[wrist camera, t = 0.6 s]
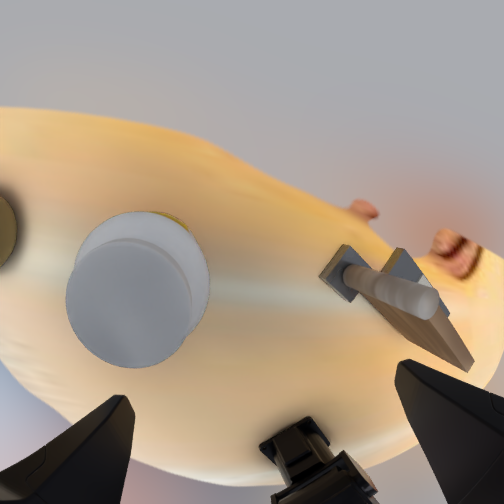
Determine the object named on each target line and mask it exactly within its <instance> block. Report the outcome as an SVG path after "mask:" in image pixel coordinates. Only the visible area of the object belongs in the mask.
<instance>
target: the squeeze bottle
mask: <svg viewBox="0 0 504 504" xmlns="http://www.w3.org/2000/svg"><path fill="white" fill-rule="evenodd" d="M16 232H17V224H16V220H15V216H14V212H13V210H12V209H11V207H10V205H9V204H8V202H7V201H6V200H5V199H3V198H2V197H1V196H0V267H1V266H2V265H3V263H4V262H5V261H6V260H7V258H8V257H9V256H10V254H11V253H12V251H13V248H14V245H15V242H16Z"/></svg>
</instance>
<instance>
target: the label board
mask: <svg viewBox="0 0 504 504" xmlns="http://www.w3.org/2000/svg"><path fill="white" fill-rule="evenodd" d="M351 264H356V265H360V266H363V267H366V268H370V269H372V268H371V267H370V266H369V265H368V264H367V263H366V262H365V261H364V260H363V259H362V258H361V257H360V256H359V254H358V253H357V252H356V251H355V250H354V249H353V248H352V247H351V246H349V245H344V244H343V245H342V246H341V248H340V249H339V250H338V252H337V253H336V255H335V256H334V257H333V259H332V260H331V261H330V263H329V264H328V265H327V267H326V268H325V269H324V271H323V272H322V273H321V275H320V276H319V277H320V278H321V279H322V280H323V281H324V282H325V283H326V284H328V285H329V286H330V287H331V288H332V289H333V290H334V291H335V292H336V293H338V294H339V295H340V296H341V297H342V298H343V299H344V300H346V301H348V302H350V303H351V302H352V301H353V299H354V298H355V297H356V295H357V294H358V292H359V291H357V290H355V289H353V288H350V287H348V286H346V285H345V283H344V281H343V273H344V271H345V269H346V268H347V267H348V266H349V265H351ZM381 272H383V273H386V274H389V275H393V276H396V277H399V278H403V279H406V280H409V281H412V282H416V283H419V284H422V285H425V286H428V287H432V285H431V284H430V283H429V281H428V280H427V278H426V277H425V276H424V274H423V273H422V271H421V270H420V269H419V267H418V266H417V265H416V263H415V262H414V261H413V259H412V258H411V257H410V255H409V254H408V253H407V251H406V250H405V249H402V248H396V249H395V251H394V253H393V254H392V256H391V257H390V259H389V260H388V262H387V263H386V265H385V266H384V268H383V269H382V271H381ZM432 288H433V287H432ZM439 306H440V307H441V309H442V310H443V312H444V313H445V315H446V316H447V318H448V316H449V314H450V312H449V311H448V309H447V307H446V306H445V304H444V303H443V301H442V300H441V298H440V297H439Z"/></svg>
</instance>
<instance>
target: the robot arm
mask: <svg viewBox="0 0 504 504" xmlns="http://www.w3.org/2000/svg"><path fill="white" fill-rule="evenodd" d="M395 387H396V390H397V392H398V395H399V397H400V400H401V403H402V405H403V408H404V411H405V414H406V416H407V419H408V421H409V423H410V425H411V427H412V429H413V431H414V433H415V435H416V437H417V439H418V441H419V443H420V445H421V447H422V449H423V451H424V453H425V455H426V457H427V459H428V461H429V464H430V466H431V468H432V470H433V472H434V474H435V476H436V478H437V481H438V483H439V485H440V487H441V489H442V492H443V494H444V496H445V498H446V501H447V503H448V504H504V398H503V397H501V396H498V395H496V394H493V393H489V392H488V391H485V390H483V389H480V388H478V387H475V386H473V385H471V384H468V383H466V382H463V381H461V380H458V379H456V378H454V377H451V376H449V375H446V374H444V373H442V372H439V371H437V370H435V369H432V368H430V367H428V366H425V365H423V364H421V363H418V362H416V361H414V360H411V359H407V360H403V361H400V362H399V363H398V365H397V370H396V376H395ZM308 421H309V422H308ZM134 424H135V412H134V410H133V408H132V406H131V404H130V402H129V400H128V398H127V397H126V396H125V395H113V396H112V397H111V398H109V399H108V400H107V401H105V402H104V403H103V404H101V405H100V406H99V407H97V408H96V409H94V410H93V411H92V412H90V413H89V414H88V415H86V416H85V417H84V418H82V419H81V420H79V421H78V422H77V423H75V424H74V425H73V426H71V427H70V428H68V429H67V430H66V431H64V432H63V433H62V434H60V435H59V436H57V437H56V438H54V439H53V440H52V441H50V442H49V443H47V444H46V446H43V447H42V448H40V449H39V450H38V451H36V452H34V453H33V454H31V455H30V456H28V457H26V458H25V459H23V460H21V461H19V462H18V463H16V464H14V465H12V466H10V467H8V468H7V469H5V470H3V471H1V472H0V504H120V501H121V496H122V491H123V487H124V482H125V477H126V473H127V468H128V463H129V460H130V455H131V449H132V440H133V432H134ZM329 446H330V442H329V441H328V440H327V438H326V437H325V436H324V434H323V433H322V432H321V430H320V429H319V427H318V426H317V425H316V423H315V422H314V420H313V419H312V418H311V417H307V418H305V419H304V420H302V421H300V422H299V423H297V424H296V425H294V426H292V427H291V428H289V429H287V430H286V431H284V432H282V433H280V434H279V435H277V436H275V437H273V438H272V439H270V440H268V441H266V442H264V443H263V444H261V445H260V446H259V449H260V451H261V452H262V453H263V454H264V455H265V456H267V457H268V458H269V459H270V460H271V461H272V462H273V463H274V464H275V465H276V466H277V467H278V469H279V471H280V473H281V475H282V477H283V479H284V481H285V483H286V486H287V488H286V489H284V490H282V491H280V492H278V493H277V494H276V493H275V494H273V495H271V504H379V503H378V501H377V500H376V499H375V498H374V497H373V495H375V494H376V493H377V492H378V490H377V489H376V487H375V485H374V484H373V482H372V480H371V479H370V477H369V476H368V475H367V473H366V472H365V471H364V470H363V469H362V467H361V466H360V465H359V464H358V463H357V462H356V461H355V460H354V459H353V458H352V457H351V456H350V455H348V454H347V453H346V452H345V451H344V450H343V451H341V452H340V453H339V455H337V456H336V457H335V456H334V455H333V453H332V452H331V451H330V449H329V448H328V447H329ZM264 447H265V448H264Z"/></svg>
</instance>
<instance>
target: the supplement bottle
mask: <svg viewBox="0 0 504 504" xmlns="http://www.w3.org/2000/svg"><path fill="white" fill-rule="evenodd" d="M209 292H210V277H209V271H208V267H207V263H206V260H205V257H204V255H203V253H202V251H201V249H200V247H199V245H198V244H197V241H196V239H195V237H194V236H193V234H192V232H191V231H190V229H189V228H188V227H187V226H186V225H185V224H184V223H183V222H182V221H180V220H179V219H177V218H176V217H174V216H172V215H169V214H166V213H161V212H128V213H123V214H120V215H117V216H114V217H112V218H110V219H108V220H106V221H105V222H103V223H102V224H100V225H99V226H98V227H96V228H95V229H94V230H93V231H92V232H91V233H90V234H89V235H88V237H87V238H86V239H85V241H84V243H83V244H82V246H81V248H80V250H79V252H78V255H77V258H76V261H75V266H74V270H73V271H72V274H71V276H70V278H69V281H68V285H67V290H66V309H67V314H68V318H69V321H70V324H71V326H72V328H73V330H74V332H75V334H76V335H77V337H78V339H79V340H80V341H81V342H82V344H83V345H84V346H85V347H86V348H87V349H88V350H89V351H90V352H92V353H93V354H94V355H96V356H97V357H98V358H100V359H102V360H104V361H106V362H108V363H110V364H112V365H116V366H119V367H125V368H144V367H149V366H152V365H156V364H158V363H160V362H162V361H164V360H165V359H167V358H168V357H170V356H171V355H172V354H174V353H175V351H176V350H177V349H178V348H179V347H180V346H181V344H182V343H183V341H184V340H185V338H186V336H188V335H189V334H190V333H191V332H192V331H193V330H194V328H195V327H196V326H197V324H198V323H199V321H200V320H201V318H202V316H203V314H204V312H205V309H206V306H207V303H208V299H209Z"/></svg>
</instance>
